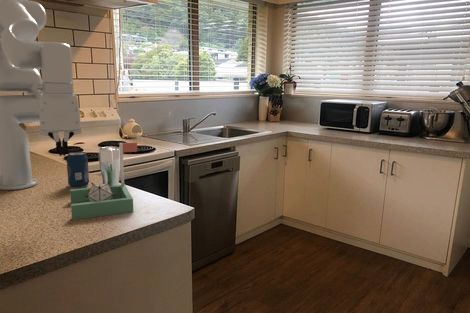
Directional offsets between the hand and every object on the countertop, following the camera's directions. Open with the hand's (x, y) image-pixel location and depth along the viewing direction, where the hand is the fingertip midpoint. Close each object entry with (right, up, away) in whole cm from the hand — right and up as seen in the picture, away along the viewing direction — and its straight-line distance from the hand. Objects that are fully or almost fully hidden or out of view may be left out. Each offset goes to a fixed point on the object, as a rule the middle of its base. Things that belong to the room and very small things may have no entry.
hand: (62, 154), depth 104 cm
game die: (+9, -16, +5) cm, 20 cm away
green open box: (+10, -16, +8) cm, 20 cm away
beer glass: (+6, -13, +23) cm, 27 cm away
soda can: (-7, -11, +28) cm, 31 cm away
